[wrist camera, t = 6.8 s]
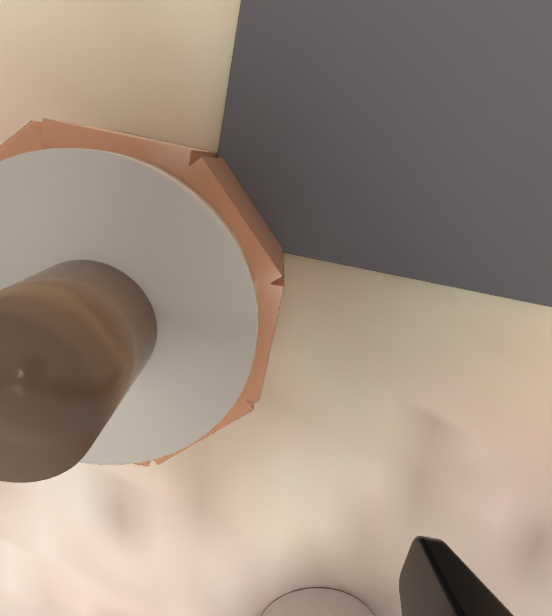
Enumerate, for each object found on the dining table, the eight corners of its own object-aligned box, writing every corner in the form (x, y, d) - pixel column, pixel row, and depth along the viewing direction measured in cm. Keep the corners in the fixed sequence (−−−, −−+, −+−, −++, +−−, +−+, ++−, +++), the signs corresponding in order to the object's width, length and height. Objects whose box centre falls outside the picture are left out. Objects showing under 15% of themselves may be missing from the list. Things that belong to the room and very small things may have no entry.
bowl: (300, 170, 16) (308, 175, 12) (251, 404, 19) (241, 482, 15) (26, 112, 16) (-83, 91, 11) (21, 361, 19) (-66, 429, 14)
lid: (286, 185, 12) (290, 203, 7) (232, 465, 15) (209, 613, 10) (-61, 116, 11) (-310, 85, 7) (-47, 418, 14) (-214, 550, 9)
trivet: (731, -125, 14) (751, -138, 13) (550, 304, 18) (560, 308, 17) (281, -243, 13) (281, -262, 12) (207, 233, 17) (205, 236, 17)
